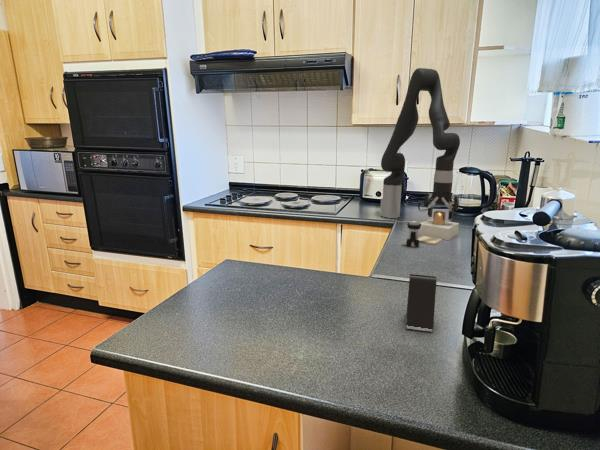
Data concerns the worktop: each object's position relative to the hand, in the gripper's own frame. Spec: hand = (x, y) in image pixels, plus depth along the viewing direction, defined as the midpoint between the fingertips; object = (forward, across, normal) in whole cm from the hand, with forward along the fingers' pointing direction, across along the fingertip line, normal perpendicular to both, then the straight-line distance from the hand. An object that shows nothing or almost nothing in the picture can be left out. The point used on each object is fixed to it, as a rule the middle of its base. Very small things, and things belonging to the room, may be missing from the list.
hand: (439, 218), depth 169 cm
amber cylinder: (+8, 0, 0) cm, 8 cm away
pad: (+8, -1, +13) cm, 15 cm away
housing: (+8, 0, 0) cm, 8 cm away
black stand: (+8, +2, +24) cm, 25 cm away
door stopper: (+8, -26, +82) cm, 86 cm away
